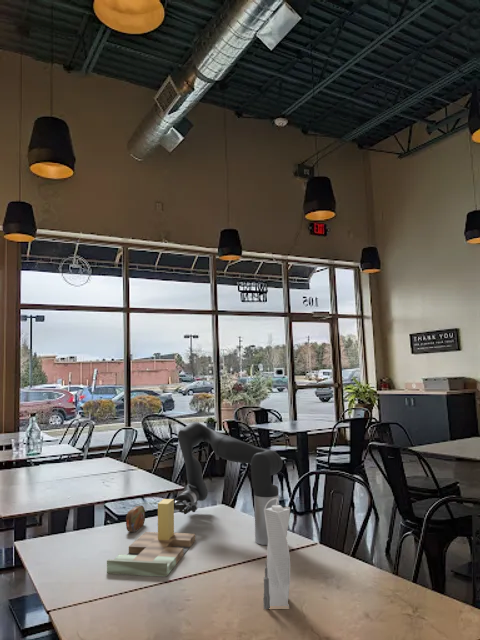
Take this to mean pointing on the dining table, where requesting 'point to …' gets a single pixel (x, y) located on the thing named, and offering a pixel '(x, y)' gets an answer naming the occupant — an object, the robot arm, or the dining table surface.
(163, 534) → the block
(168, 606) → the dining table surface
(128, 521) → the tin
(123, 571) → the board
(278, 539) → the skyscraper
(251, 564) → the dining table surface
